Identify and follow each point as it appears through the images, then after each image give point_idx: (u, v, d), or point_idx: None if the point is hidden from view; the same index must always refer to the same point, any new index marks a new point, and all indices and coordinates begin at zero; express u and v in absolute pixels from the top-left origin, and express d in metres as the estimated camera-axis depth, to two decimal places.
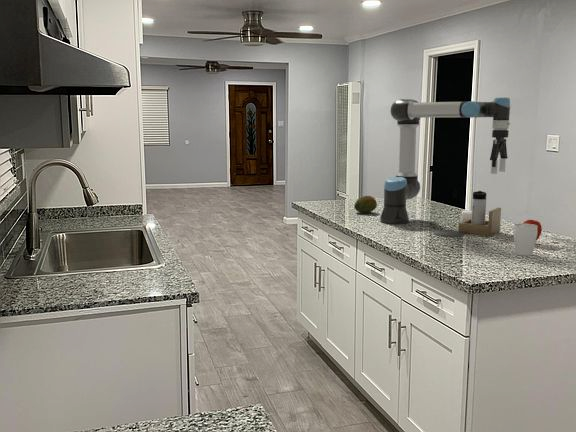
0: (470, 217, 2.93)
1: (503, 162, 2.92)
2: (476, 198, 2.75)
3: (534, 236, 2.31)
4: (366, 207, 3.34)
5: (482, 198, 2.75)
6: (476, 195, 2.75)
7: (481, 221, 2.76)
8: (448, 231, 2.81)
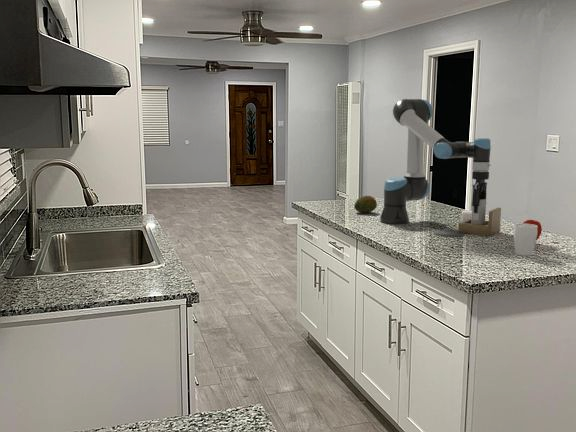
0: (470, 217, 2.93)
1: None
2: None
3: (534, 236, 2.31)
4: (366, 207, 3.34)
5: (482, 198, 2.75)
6: None
7: (481, 221, 2.76)
8: (448, 231, 2.81)
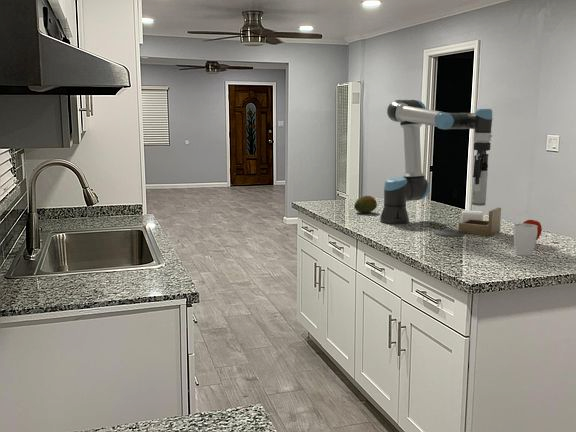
0: (470, 217, 2.93)
1: None
2: None
3: (534, 236, 2.31)
4: (366, 207, 3.34)
5: (484, 169, 2.72)
6: None
7: (482, 193, 2.74)
8: (448, 231, 2.81)
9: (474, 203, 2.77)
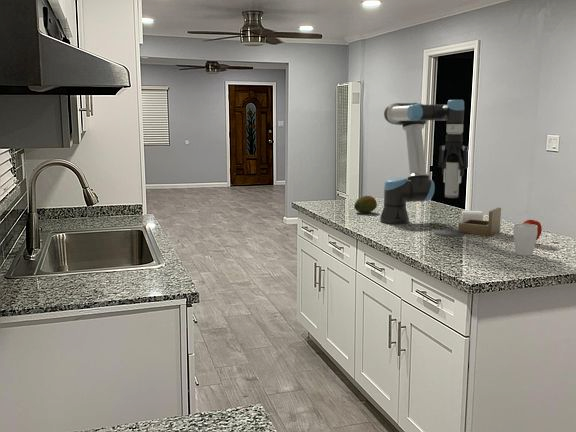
0: (470, 217, 2.93)
1: None
2: None
3: (534, 236, 2.31)
4: (366, 207, 3.34)
5: (447, 160, 2.71)
6: None
7: (446, 184, 2.73)
8: (448, 231, 2.81)
9: None
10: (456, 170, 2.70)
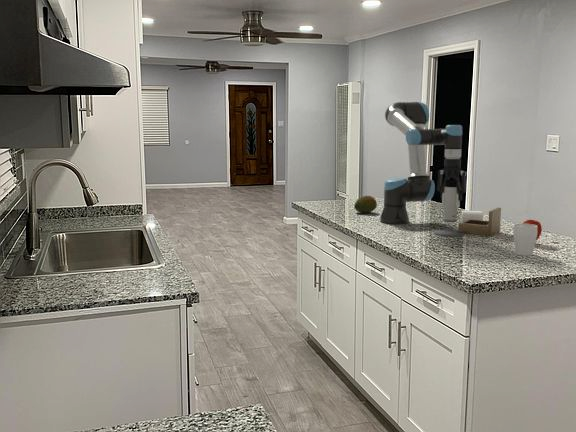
0: (470, 217, 2.93)
1: None
2: None
3: (534, 236, 2.31)
4: (366, 207, 3.34)
5: (445, 185, 2.73)
6: None
7: (444, 208, 2.75)
8: (448, 231, 2.81)
9: None
10: (454, 195, 2.71)
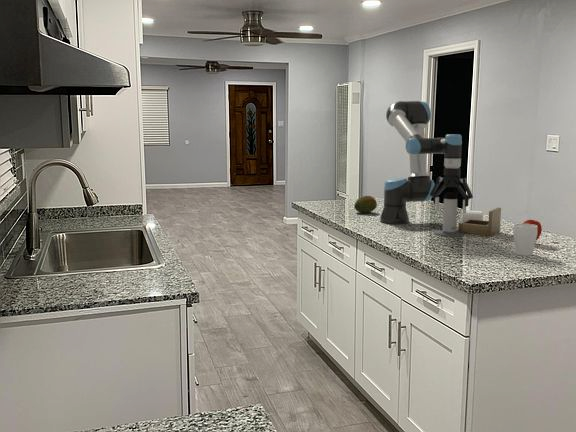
0: (470, 217, 2.93)
1: None
2: None
3: (534, 236, 2.31)
4: (366, 207, 3.34)
5: (444, 197, 2.74)
6: None
7: (443, 220, 2.76)
8: None
9: None
10: (454, 207, 2.72)
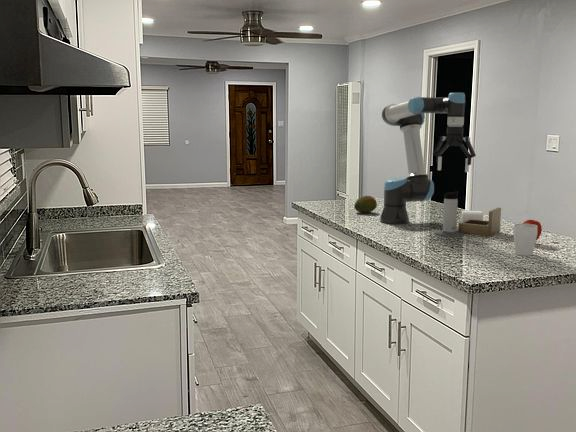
0: (470, 217, 2.93)
1: None
2: None
3: (534, 236, 2.31)
4: (366, 207, 3.34)
5: (445, 197, 2.74)
6: None
7: (443, 220, 2.76)
8: None
9: None
10: (454, 207, 2.72)
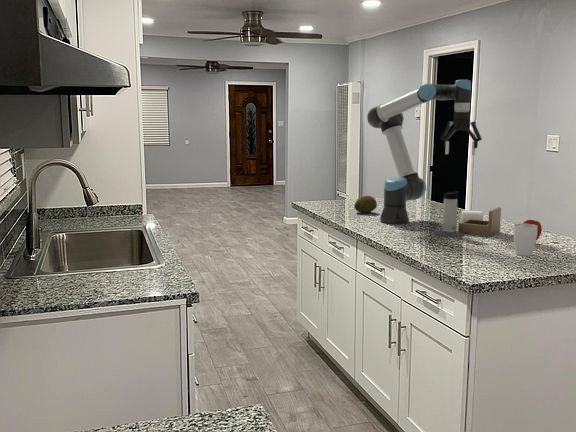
0: (470, 217, 2.93)
1: None
2: None
3: (534, 236, 2.31)
4: (366, 207, 3.34)
5: (445, 197, 2.74)
6: None
7: (443, 220, 2.76)
8: None
9: None
10: (454, 207, 2.72)
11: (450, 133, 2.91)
